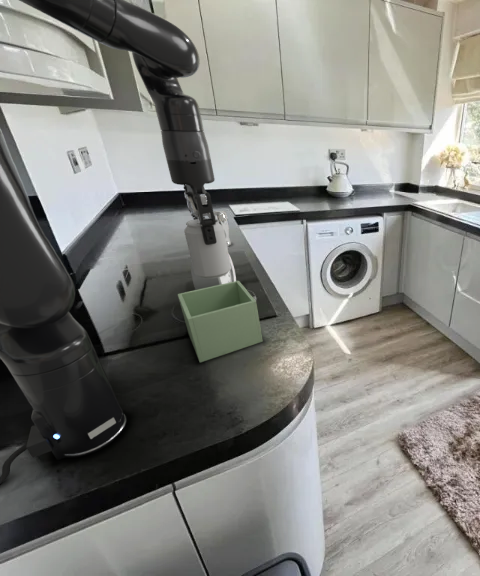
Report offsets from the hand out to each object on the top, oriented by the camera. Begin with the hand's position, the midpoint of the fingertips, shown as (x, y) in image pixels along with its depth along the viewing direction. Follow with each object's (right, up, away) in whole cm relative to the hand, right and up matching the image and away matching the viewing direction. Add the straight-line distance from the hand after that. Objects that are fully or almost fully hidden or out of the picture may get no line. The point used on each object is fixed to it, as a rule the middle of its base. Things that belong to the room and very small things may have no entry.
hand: (206, 238), depth 69 cm
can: (0, -7, +4) cm, 8 cm away
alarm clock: (-13, -15, +33) cm, 38 cm away
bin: (-3, -24, +15) cm, 28 cm away
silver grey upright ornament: (-36, +9, +80) cm, 88 cm away
